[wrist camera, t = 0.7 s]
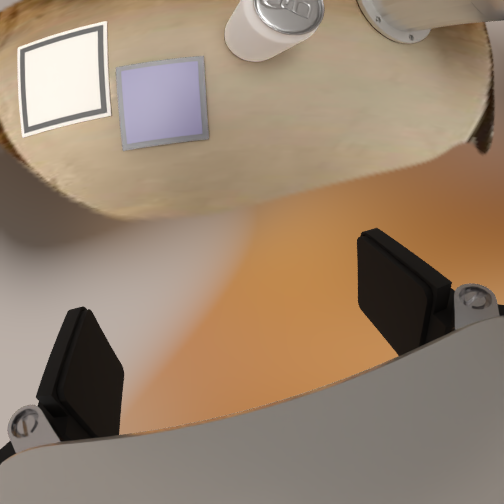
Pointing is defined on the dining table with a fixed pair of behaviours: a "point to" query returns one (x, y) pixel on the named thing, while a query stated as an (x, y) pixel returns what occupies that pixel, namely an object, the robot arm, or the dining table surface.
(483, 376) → the robot arm
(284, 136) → the dining table surface
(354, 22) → the dining table surface
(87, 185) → the dining table surface
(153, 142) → the ink pad
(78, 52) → the marked card
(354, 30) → the dining table surface
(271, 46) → the can
